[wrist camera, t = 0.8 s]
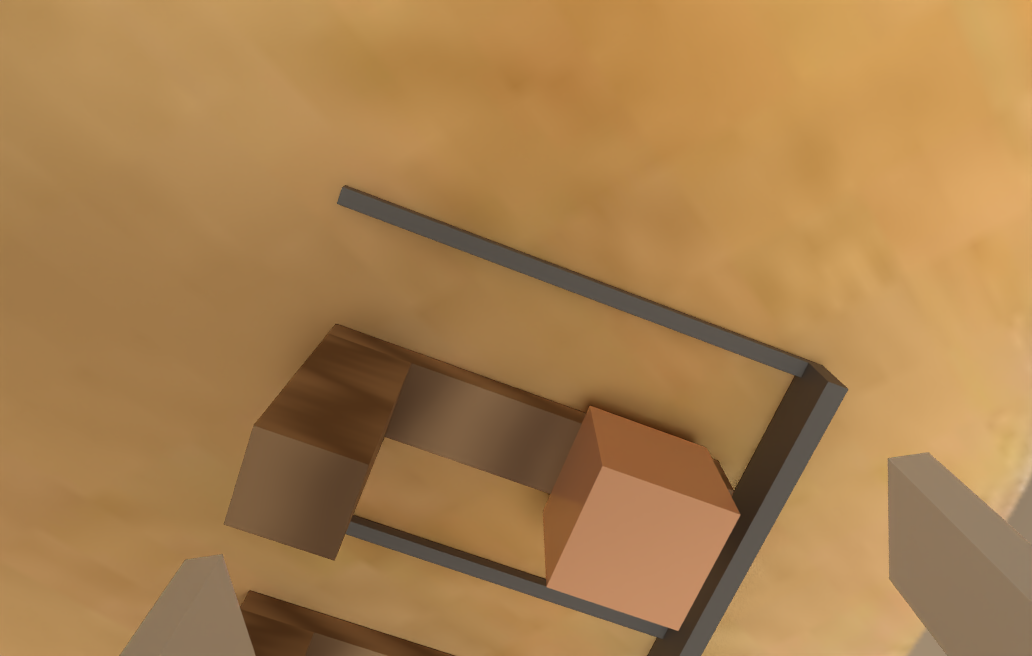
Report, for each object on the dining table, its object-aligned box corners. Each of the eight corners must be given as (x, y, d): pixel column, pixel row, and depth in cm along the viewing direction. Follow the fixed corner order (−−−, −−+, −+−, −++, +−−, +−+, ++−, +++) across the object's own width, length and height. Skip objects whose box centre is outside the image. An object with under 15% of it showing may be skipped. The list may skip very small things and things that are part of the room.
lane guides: (185, 700, 43) (161, 743, 40) (345, 185, 34) (328, 193, 31) (579, 819, 45) (583, 868, 42) (822, 365, 36) (848, 389, 34)
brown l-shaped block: (312, 396, 37) (223, 524, 26) (335, 323, 36) (253, 425, 25) (684, 526, 39) (747, 695, 28) (718, 460, 38) (796, 611, 27)
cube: (543, 510, 37) (546, 587, 32) (590, 405, 36) (602, 466, 30) (654, 549, 38) (678, 631, 32) (706, 447, 36) (740, 514, 30)
